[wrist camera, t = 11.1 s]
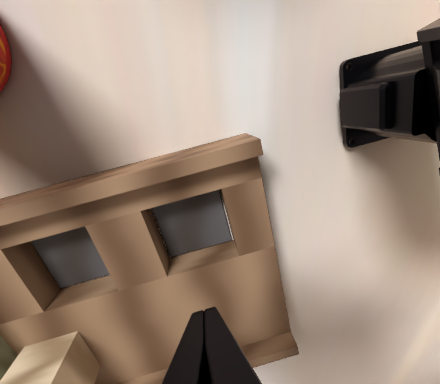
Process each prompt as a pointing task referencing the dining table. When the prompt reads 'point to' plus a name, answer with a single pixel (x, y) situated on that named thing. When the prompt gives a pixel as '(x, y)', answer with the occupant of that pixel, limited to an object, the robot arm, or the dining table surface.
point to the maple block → (54, 363)
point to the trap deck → (144, 261)
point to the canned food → (4, 60)
